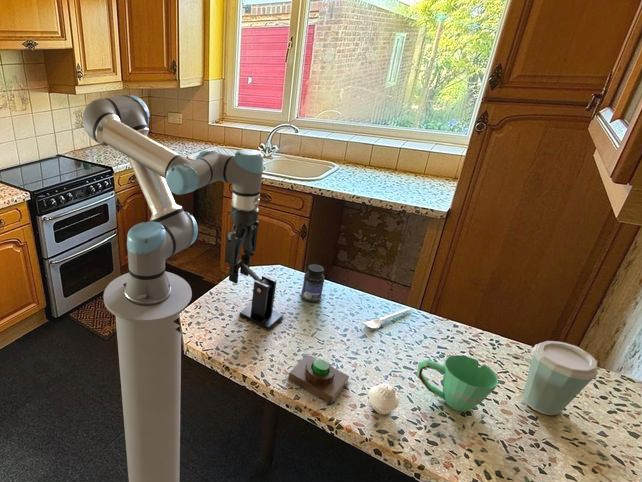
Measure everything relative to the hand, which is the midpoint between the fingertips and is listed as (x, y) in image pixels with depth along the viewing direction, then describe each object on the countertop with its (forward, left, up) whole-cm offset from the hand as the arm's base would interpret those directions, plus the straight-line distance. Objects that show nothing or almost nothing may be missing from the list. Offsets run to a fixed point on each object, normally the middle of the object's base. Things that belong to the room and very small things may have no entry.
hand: (238, 277), depth 121 cm
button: (+33, -12, -6) cm, 36 cm away
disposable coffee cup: (+73, +17, -10) cm, 76 cm away
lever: (+4, 0, +2) cm, 5 cm away
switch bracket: (+9, 0, -10) cm, 13 cm away
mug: (+57, +3, -10) cm, 58 cm away
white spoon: (+37, +25, -10) cm, 46 cm away
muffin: (+47, -10, -10) cm, 49 cm away
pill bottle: (+15, +20, -10) cm, 27 cm away
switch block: (+33, -12, -10) cm, 37 cm away
